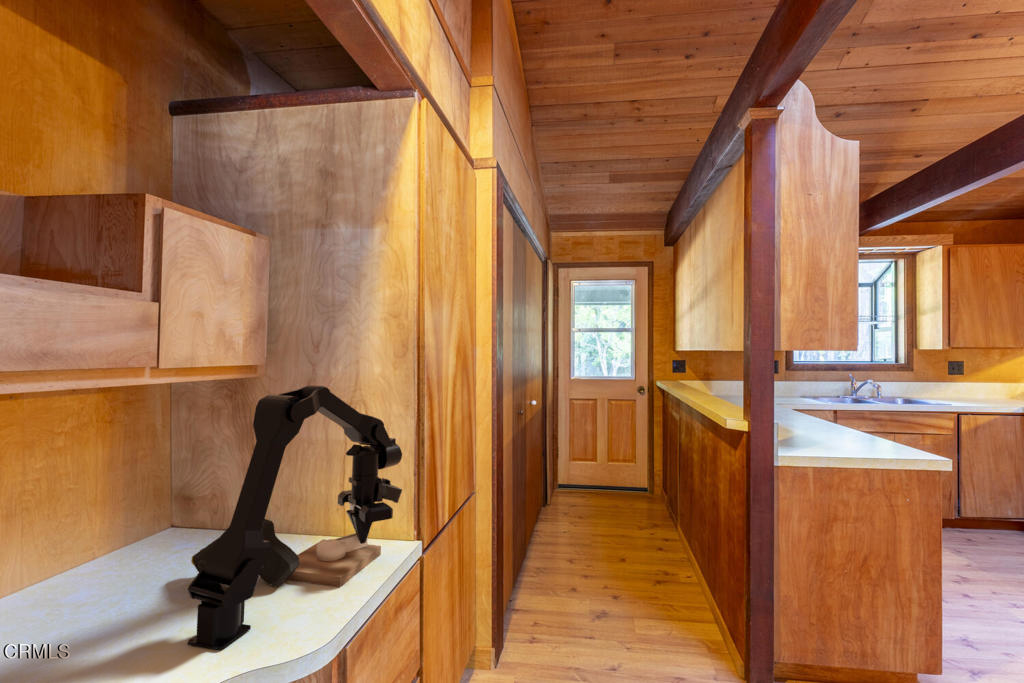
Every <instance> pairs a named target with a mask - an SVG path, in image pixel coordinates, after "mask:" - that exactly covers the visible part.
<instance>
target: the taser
mask: <svg viewBox="0 0 1024 683" xmlns="http://www.w3.org/2000/svg"><path fill="white" fill-rule="evenodd" d="M262 536H263V540H265V541H270V549H269V552H268V554H267V557H266V566H265V568H264V567H262V570H261V572H260V575H259V577H260V579H261V580H262V581H263V582H265V583H266V584H268V585H270V586H271V587H273V588H278V587H279V586H280V585H282V584H283V583H284V582H285V581H288V580H287V579H288V578H289V576H290V575H291V574H292V573H293V572H294V571H295V570H296V569H297V567H298V566H299V565H300V563H299V557H298V556H297V555H298V554H297V553H296V552H295V551H294V550H293V549H292V548H291V547H290V546H289V545H287V544H286V543H285V542H283V541H282V540H280V539H279V538H278V536H277V534H276V531H275V523H274V521H272V520H270V519H266V518H265V519H264V522H263V526H262ZM217 539H218V538H216V539H215V540H214V541H212V542H210V543H209V544H208V545H207V546H205V547H202V548H201V549H199V551H198V552H196V553H195V554H194V555H192V556H191V559H190V561H191V564H192V565H193V566H194V568H195V570H197V573H199V572H200V570H201V569H202V568H203V566H204V565H205V563H206V561H207V558H208V556H209V554H210V552H211V550H212V548H213V546H214V543H215V542H216V540H217Z"/></svg>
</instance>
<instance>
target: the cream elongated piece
mask: <svg viewBox="0 0 1024 683" xmlns="http://www.w3.org/2000/svg"><path fill="white" fill-rule="evenodd" d="M368 538H369V537H367V540H366V542H365V543H363V544H361V543H360V542H359V539H358V537H357V534H356V532H355V533H352V534H347V535H345V536H341V537H337V538H331V539H324V540H325V541H322V542H320V541H319V542H320V543H318V542H317V543H318V544H317V556H316V558H317V559H318V560H321V561H334V560H338V559H341V558H343V557H344V556H345V555H346V553H347V552H350V551H353V550H356V549H359V548H363V547H366V546H367V544H368V541H369V540H368Z"/></svg>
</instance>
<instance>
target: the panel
mask: <svg viewBox="0 0 1024 683" xmlns="http://www.w3.org/2000/svg"><path fill="white" fill-rule="evenodd" d="M325 540H326V539H322V540H320V541H318V542H316V543H315V544H314V545H312V546H309V547H308V548H306V549H305V550H303V551H302V552H300V553H298V554H297V556H298V557H299V563H300V565H299V566H298V567H297V569H296V570H295V571H294V572H293V573H292V574H291V575H290V576H289V578H288V579H287V580H286V581H290V582H291V581H293V582H298V583H305V584H312V585H313V584H314V585H320V586H326V587H335V588H336V587H337V588H341V587H342V586H344V585H345V584H346V583H348V582H349V581H351V579H353V577H355V576H356V575H357V574H359V573H360V572H362V570H364V569H365V568H366V567H368V566H369V564H371V563H372V562H373V561H375V560H376V559H377V558H378V557H380V556H381V555H382V553H381V552H382V545H377V544H376V545H375V544H369V543H367V546H366V547H363V548H359V549H356V550H353V551H350V552H347V553H346V555H345V556H344V557H343V558H341V559H338V560H334V561H321V560H318V559H317V558H316V556H317V544H318V543H320V542H322V541H325Z"/></svg>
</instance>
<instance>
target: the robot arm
mask: <svg viewBox="0 0 1024 683" xmlns="http://www.w3.org/2000/svg"><path fill="white" fill-rule="evenodd" d="M317 412H318V413H319V414H321V415H323V416H324V417H326V418H328V419H329V420H331V421H332V422H334V423H335V424H337V426H340V427H341V428H342V429H343V433H344V435H345V436H346V437H347V438H348V439H349V440H350V441H351V442H353V444H352V446H351V447H350V448H349V449H347V451H346V452H345V454H346V456H348V457H352V466H351V467H352V469H351V476H349V477H348V482H349V483H350V484H351V489H347V490H342V491H340V493H339V494H338V495H337V505H339V506H341V507H344V506H345V504H346V503H348V504H349V509H348V510H346V511H345V512H346V514H347V516H348V518H349V520H350V522H351V524H352V527H353V530H354V532H355V533H356V534H357V537H358V539H359V542H360V543H361V544H363V543H365V542H366V540H367V537H368V536H369V533H370V530H371V527H372V525H373V523H375V522H381V521H386V520H391V519H393V518H394V516H393V515H394V510H393V508H392V507H391V506H390V505H389V504H387V503H385V502H384V501H383V500H387V501H392V502H393V503H395V504H398V503H399V501H400V497H401V494H402V493H403V489H402V488H401V487H398V486H396V485H393V484H391V480H389V479H388V478H384V477H382V478H381V477H379V470H384V469H387V468H390V467H394V466H397V465H398V464H400V462H401V461H402V458H403V452H402V450H401V447H400V445H399V444H397V443H396V442H397V440H396V438H393V437H390V436H389V434H388V431H387V430H386V429H387V428H386V427H385V423H384V422H383V420H382V419H380V418H378V417H374V416H373V415H372V416H371V415H369V414H364V413H361V412H359V411H358V410H357V409H355V408H354V407H353V406H351V405H350V404H349V403H346V401H344V400H342V398H340V397H338V396H337V395H336V394H335V393H333V392H332V391H331V390H330V388H328V387H327V386H324V385H312V384H311V385H310V384H309V385H306V386H303V387H301V388H298V389H294V390H290V391H286V392H282V393H278V394H267V395H265V396H264V397H262V398H260V399H259V400H258V401H257V404H256V405H255V410H254V415H253V423H252V428H253V430H254V431H253V432H254V436H255V440H256V442H255V445H254V448H253V451H252V455H251V458H250V461H249V465H248V468H247V471H246V474H245V477H244V480H243V483H242V487H241V489H240V493H239V496H238V499H237V502H236V505H235V508H234V512H233V515H232V518H231V520H230V524H229V526H228V527H227V528H226V530H224V532H223V533H222V534H221V535H220V536H219V537H217V538H216V539H217V540H216V539H215V540H216V542H215V543H214V546H213V548H212V550H211V552H210V554H209V556H208V558H207V561H206V563H205V565H204V566H203V568H202V569H201V570H200V572H197V575H196V576H195V577H194V578H193V580H192V582H191V583H190V584H189V586H187V592H188V594H189V598H190V599H192V600H197V601H200V603H199V604H198V605H197V616H196V617H197V618H196V634H195V635H194V636H192V637H191V638H190V639H188V640H187V645H189V646H195V647H201V648H205V649H211V650H218V651H221V650H224V649H225V648H226V647H229V645H231V644H232V643H234V642H235V641H237V639H239V638H241V637H242V636H244V635H245V634H246V633H247V632H249V631H250V630H251V628H252V625H251V624H244V622H245V606H246V604H245V603H246V601H247V600H249V599H251V598H252V597H253V596H254V592H255V589H256V586H257V583H258V579H259V577H260V576H259V575H260V572H261V570H262V567H264V568H265V566H266V557H267V554H268V552H269V549H270V541H265V540H263V536H262V526H263V522H264V519H266V515H267V511H268V507H269V505H270V502H271V498H272V495H273V491H274V488H275V484H276V481H277V478H278V474H279V472H280V471H279V470H280V469H281V464H282V461H283V458H284V454H285V452H286V448H287V446H288V445H289V444H290V443H291V442H292V440H293V439H294V438H296V436H297V435H298V434H299V433H300V431H301V429H302V426H303V424H304V421H305V420H306V419H308V418H309V417H313V416H314V415H316V414H317ZM354 443H357V444H354ZM368 538H369V537H368ZM367 541H368V540H367Z"/></svg>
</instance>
